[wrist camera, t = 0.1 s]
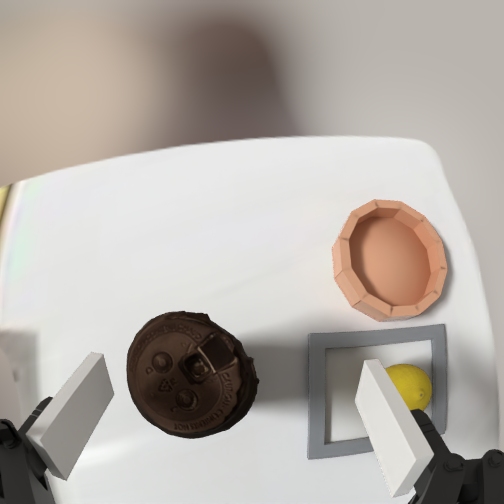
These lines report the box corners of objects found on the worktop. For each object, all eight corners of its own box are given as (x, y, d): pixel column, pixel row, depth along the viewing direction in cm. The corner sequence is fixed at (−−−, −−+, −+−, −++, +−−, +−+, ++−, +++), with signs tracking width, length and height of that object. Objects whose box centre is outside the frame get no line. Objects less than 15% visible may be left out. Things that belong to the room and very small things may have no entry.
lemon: (364, 423, 26) (398, 437, 18) (353, 374, 28) (386, 375, 20) (409, 404, 26) (451, 410, 19) (399, 358, 28) (440, 352, 21)
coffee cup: (258, 335, 29) (264, 312, 17) (253, 417, 26) (255, 452, 14) (172, 328, 30) (121, 299, 17) (165, 407, 26) (110, 429, 14)
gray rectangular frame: (441, 432, 25) (444, 433, 24) (307, 457, 25) (308, 459, 24) (440, 325, 29) (443, 323, 29) (308, 334, 29) (309, 333, 29)
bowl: (439, 316, 30) (453, 311, 27) (336, 323, 30) (345, 319, 27) (422, 215, 34) (433, 204, 32) (327, 210, 34) (334, 196, 32)
